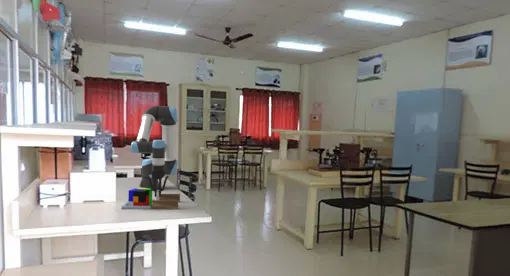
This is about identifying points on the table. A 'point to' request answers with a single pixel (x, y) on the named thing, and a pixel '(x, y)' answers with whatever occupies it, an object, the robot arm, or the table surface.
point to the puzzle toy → (140, 197)
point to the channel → (166, 201)
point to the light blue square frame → (134, 206)
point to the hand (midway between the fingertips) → (157, 201)
